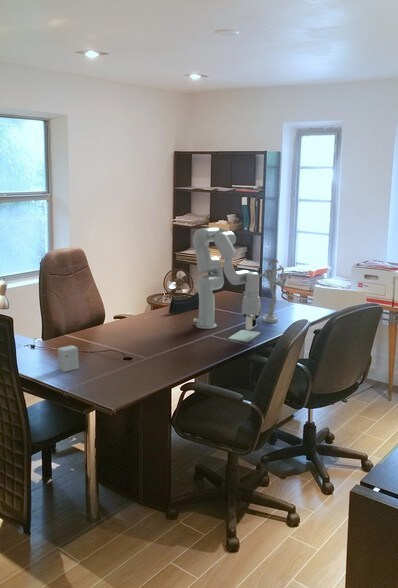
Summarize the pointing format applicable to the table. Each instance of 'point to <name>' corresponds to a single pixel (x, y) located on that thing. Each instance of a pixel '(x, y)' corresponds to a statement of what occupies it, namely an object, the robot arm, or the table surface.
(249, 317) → the cream rectangular block
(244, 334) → the mat
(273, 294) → the grey tall branched form
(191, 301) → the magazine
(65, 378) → the table surface
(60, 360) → the small box
